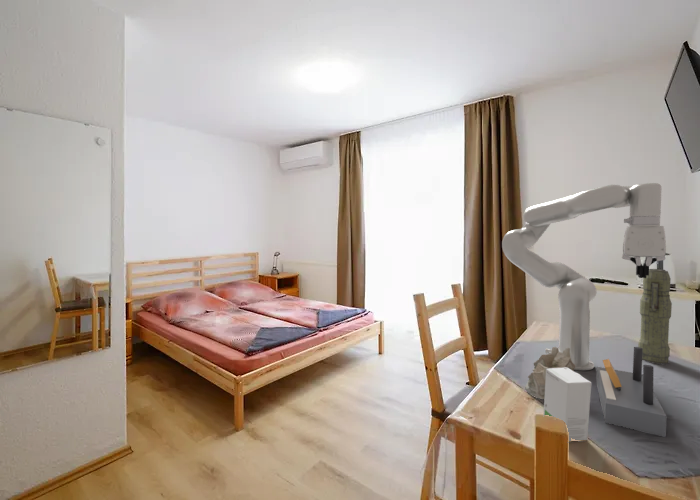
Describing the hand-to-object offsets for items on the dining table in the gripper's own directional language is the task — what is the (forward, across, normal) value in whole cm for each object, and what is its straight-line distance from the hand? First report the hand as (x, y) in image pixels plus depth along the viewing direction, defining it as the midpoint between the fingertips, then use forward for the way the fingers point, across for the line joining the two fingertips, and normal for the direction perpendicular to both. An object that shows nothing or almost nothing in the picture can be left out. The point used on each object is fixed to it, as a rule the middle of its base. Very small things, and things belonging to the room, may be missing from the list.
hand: (642, 277), depth 109 cm
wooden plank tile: (+29, -8, -22) cm, 37 cm away
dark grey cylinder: (+30, -3, -14) cm, 33 cm away
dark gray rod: (+30, -2, -30) cm, 42 cm away
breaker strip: (+35, -6, -22) cm, 42 cm away
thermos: (+35, +8, +24) cm, 43 cm away
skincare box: (+35, -21, -45) cm, 61 cm away
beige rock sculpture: (+36, -26, -21) cm, 49 cm away
